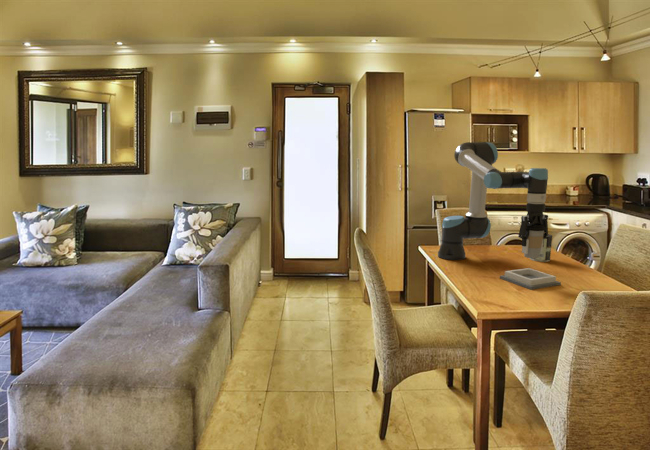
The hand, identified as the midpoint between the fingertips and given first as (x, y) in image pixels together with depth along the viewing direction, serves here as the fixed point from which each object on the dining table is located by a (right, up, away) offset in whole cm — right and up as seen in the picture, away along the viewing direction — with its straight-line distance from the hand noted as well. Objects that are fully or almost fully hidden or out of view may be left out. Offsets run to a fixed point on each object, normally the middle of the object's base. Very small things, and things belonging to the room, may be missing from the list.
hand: (531, 252), depth 187 cm
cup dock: (0, -14, +3) cm, 14 cm away
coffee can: (+25, -7, +42) cm, 49 cm away
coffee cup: (0, -2, 0) cm, 2 cm away
